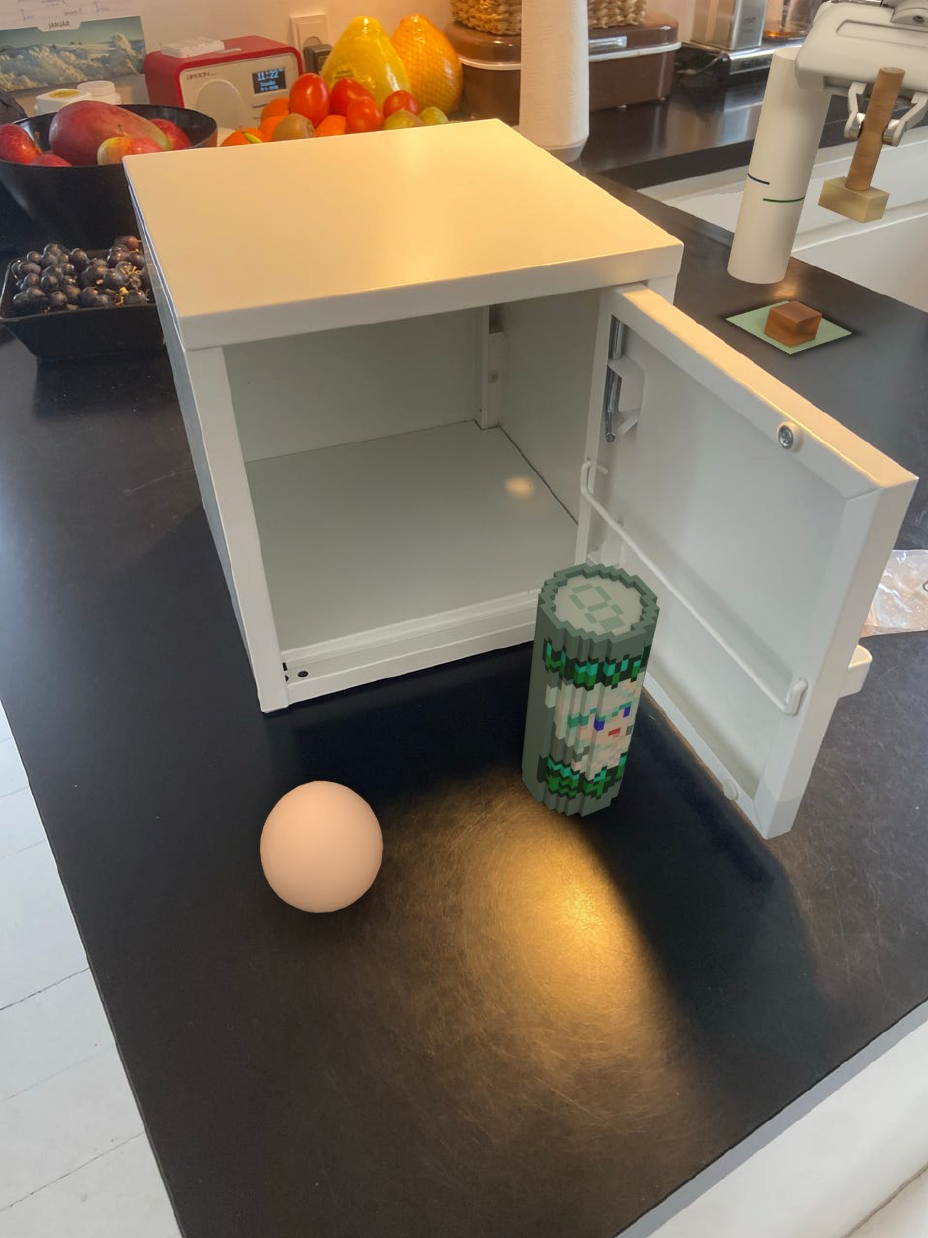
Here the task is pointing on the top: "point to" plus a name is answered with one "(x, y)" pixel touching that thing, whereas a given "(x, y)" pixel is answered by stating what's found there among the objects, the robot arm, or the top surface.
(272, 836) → the egg
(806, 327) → the brown wooden block
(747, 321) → the flat green square plate
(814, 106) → the cylindrical container
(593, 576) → the can
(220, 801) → the top surface
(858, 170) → the mallet
